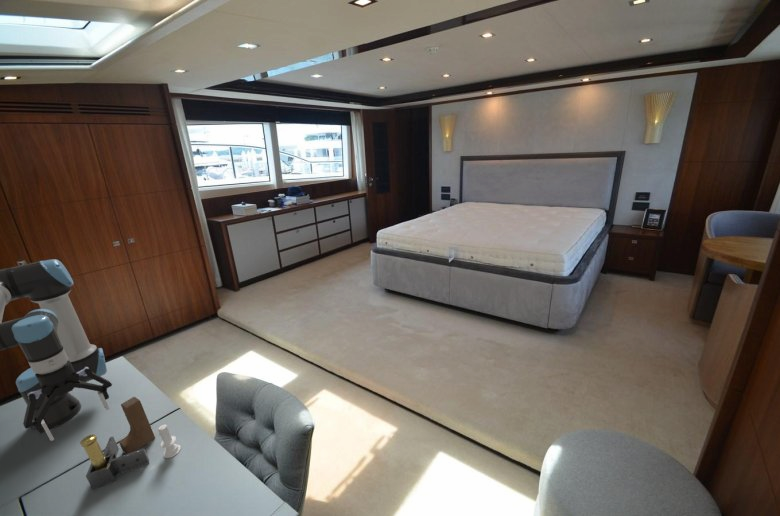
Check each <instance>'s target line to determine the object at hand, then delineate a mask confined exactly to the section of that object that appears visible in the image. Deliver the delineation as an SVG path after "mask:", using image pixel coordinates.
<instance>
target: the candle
mask: <svg viewBox="0 0 780 516" xmlns="http://www.w3.org/2000/svg"><path fill="white" fill-rule="evenodd" d="M158 435H159V437H161V439H162V441H161V442H160V447H161V448H165V449H164V453H163V455H162V456H163V457H164V458H165V459H170V458H173V457H175V456H177V454H179V452H180V451H181V448H182V447H181V445H180V444H176V443H175V442H176V440H177V436H175V435H172V434H171V432H170V429H169V428H168V425H167V424H165V423H164V424H162V425H160V426H159V428H158Z"/></svg>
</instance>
